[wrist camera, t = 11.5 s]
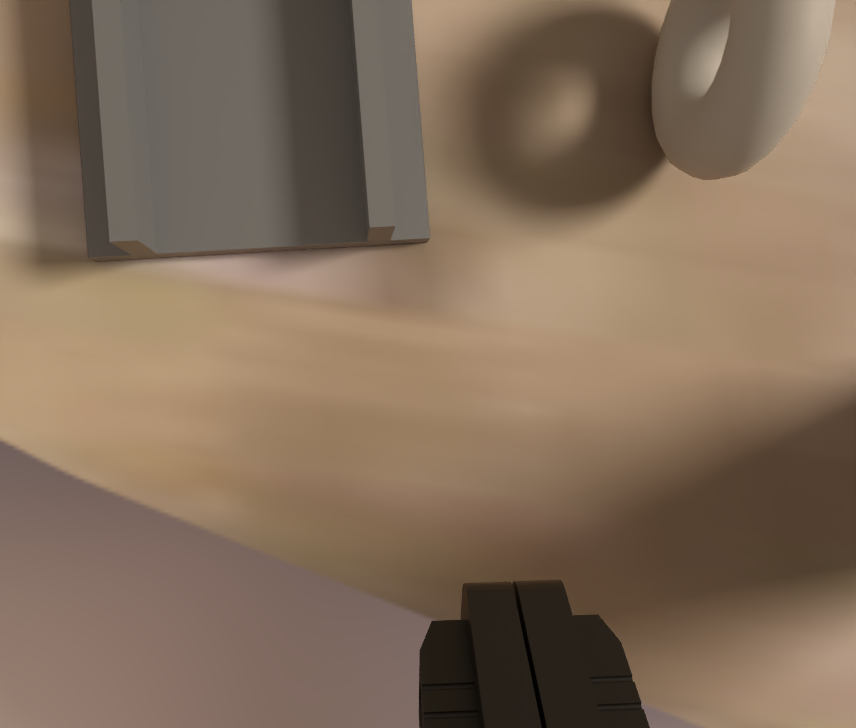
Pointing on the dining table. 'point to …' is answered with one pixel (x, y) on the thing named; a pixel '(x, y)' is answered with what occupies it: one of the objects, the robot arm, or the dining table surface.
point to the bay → (247, 126)
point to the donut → (734, 79)
